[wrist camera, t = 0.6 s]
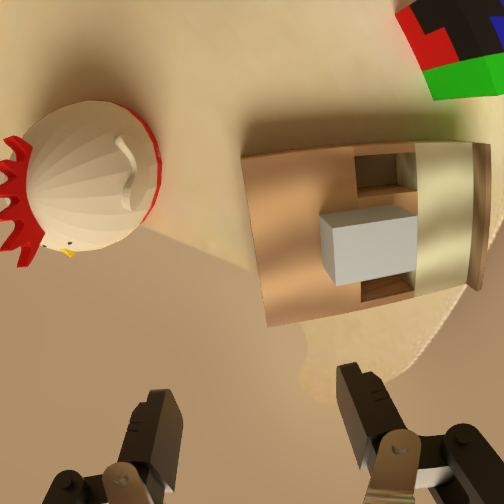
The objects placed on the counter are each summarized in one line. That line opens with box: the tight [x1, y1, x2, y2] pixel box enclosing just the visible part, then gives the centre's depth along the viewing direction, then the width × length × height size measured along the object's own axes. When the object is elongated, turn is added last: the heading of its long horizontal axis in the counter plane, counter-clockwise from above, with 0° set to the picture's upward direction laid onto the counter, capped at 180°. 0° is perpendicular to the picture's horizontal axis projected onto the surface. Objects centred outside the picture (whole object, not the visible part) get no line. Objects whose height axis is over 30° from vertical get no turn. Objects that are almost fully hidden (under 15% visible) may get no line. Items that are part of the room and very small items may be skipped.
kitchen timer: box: [0, 100, 162, 268], centre depth 20 cm, size 14×14×15 cm
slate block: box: [319, 205, 418, 286], centre depth 24 cm, size 4×7×4 cm, turn 99°
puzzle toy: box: [395, 0, 504, 101], centre depth 19 cm, size 10×10×10 cm
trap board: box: [240, 140, 491, 327], centre depth 27 cm, size 15×23×6 cm, turn 99°
